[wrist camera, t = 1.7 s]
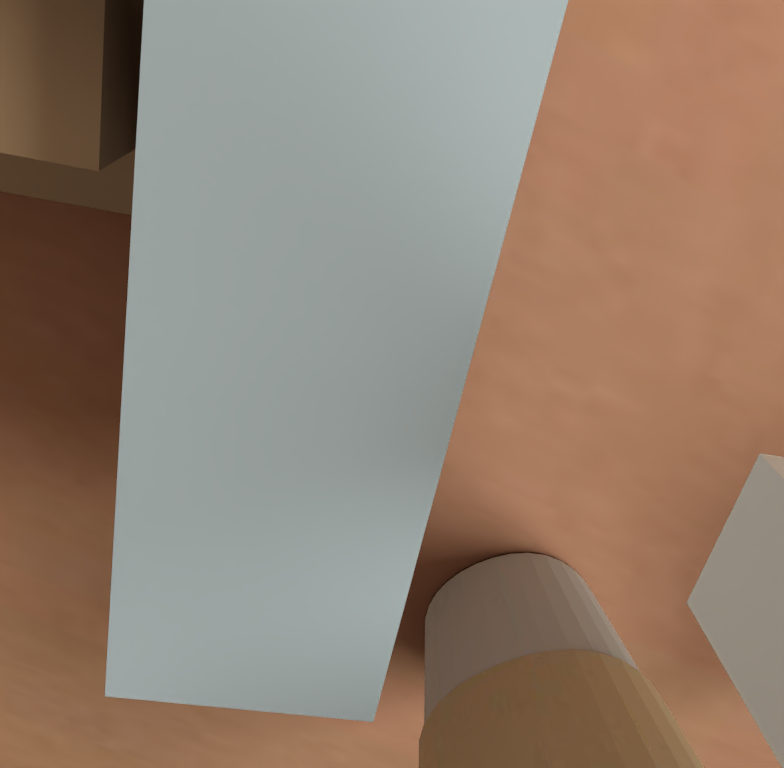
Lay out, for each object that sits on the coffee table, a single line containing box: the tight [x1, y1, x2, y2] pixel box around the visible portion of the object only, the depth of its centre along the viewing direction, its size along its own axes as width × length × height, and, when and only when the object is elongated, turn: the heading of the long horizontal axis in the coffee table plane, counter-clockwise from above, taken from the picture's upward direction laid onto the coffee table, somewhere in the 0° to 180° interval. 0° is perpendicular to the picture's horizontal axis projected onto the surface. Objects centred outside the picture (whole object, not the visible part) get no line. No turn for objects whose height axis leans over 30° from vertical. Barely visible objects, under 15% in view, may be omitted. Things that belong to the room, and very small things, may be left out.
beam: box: [105, 0, 568, 722], centre depth 12 cm, size 22×5×5 cm, turn 169°
